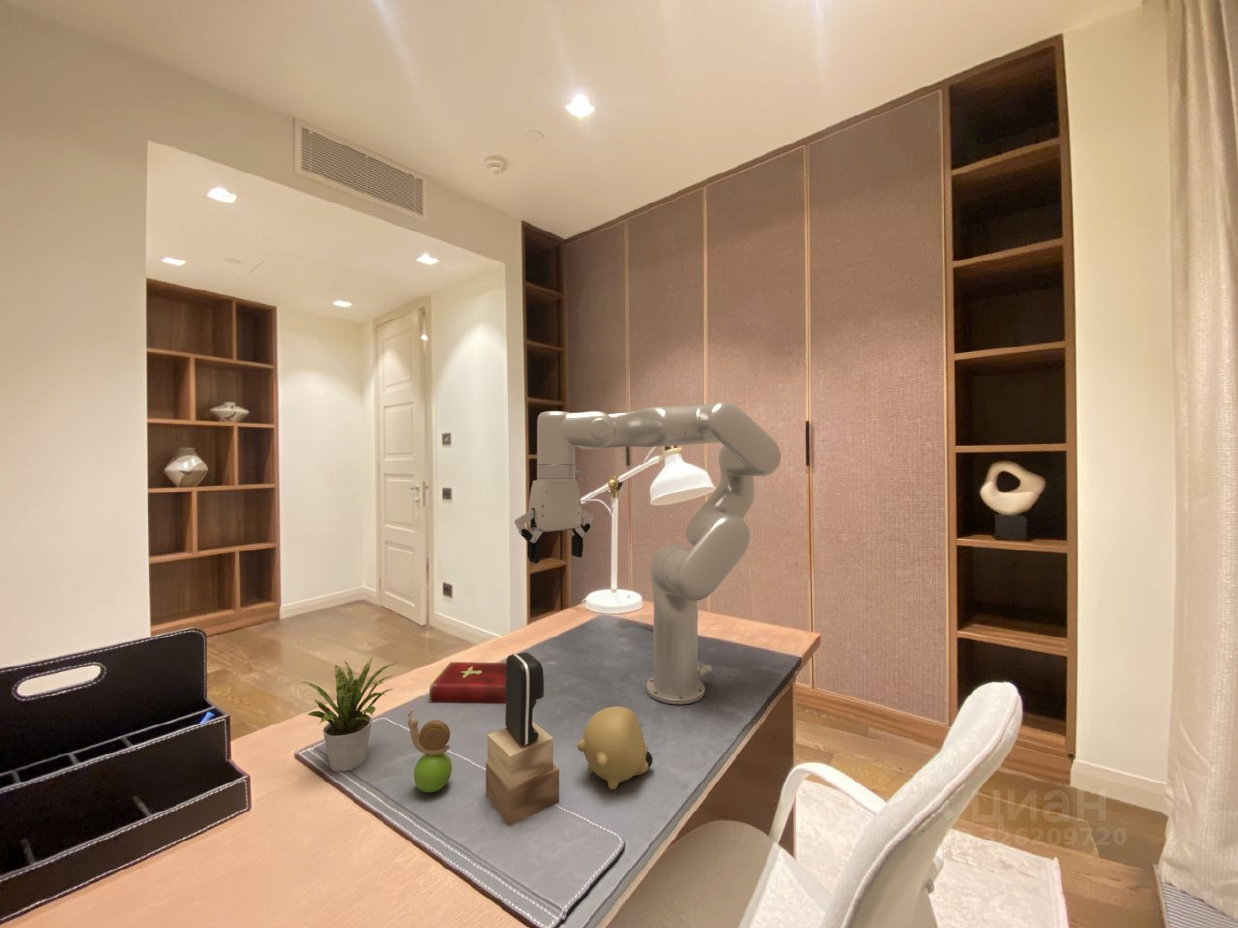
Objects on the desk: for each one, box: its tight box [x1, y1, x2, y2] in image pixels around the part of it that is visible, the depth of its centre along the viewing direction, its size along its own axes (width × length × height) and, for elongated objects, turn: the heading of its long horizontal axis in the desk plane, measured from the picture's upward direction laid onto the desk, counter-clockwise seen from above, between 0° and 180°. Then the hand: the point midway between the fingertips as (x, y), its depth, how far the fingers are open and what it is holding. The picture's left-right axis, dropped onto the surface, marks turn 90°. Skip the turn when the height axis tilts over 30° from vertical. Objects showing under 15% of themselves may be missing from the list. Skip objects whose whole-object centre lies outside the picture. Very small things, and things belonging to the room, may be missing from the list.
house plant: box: [301, 657, 397, 772], centre depth 81 cm, size 14×14×16 cm
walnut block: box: [485, 761, 560, 827], centre depth 73 cm, size 8×8×5 cm
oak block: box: [487, 720, 554, 789], centre depth 73 cm, size 7×7×4 cm
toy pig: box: [576, 706, 654, 790], centre depth 78 cm, size 10×12×11 cm
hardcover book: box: [429, 661, 543, 705], centre depth 107 cm, size 12×21×4 cm, turn 89°
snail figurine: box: [407, 709, 453, 793], centre depth 75 cm, size 5×6×12 cm
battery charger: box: [504, 651, 545, 745], centre depth 73 cm, size 7×4×11 cm, turn 33°
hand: (556, 559), depth 98 cm, fingers open, 9 cm apart
